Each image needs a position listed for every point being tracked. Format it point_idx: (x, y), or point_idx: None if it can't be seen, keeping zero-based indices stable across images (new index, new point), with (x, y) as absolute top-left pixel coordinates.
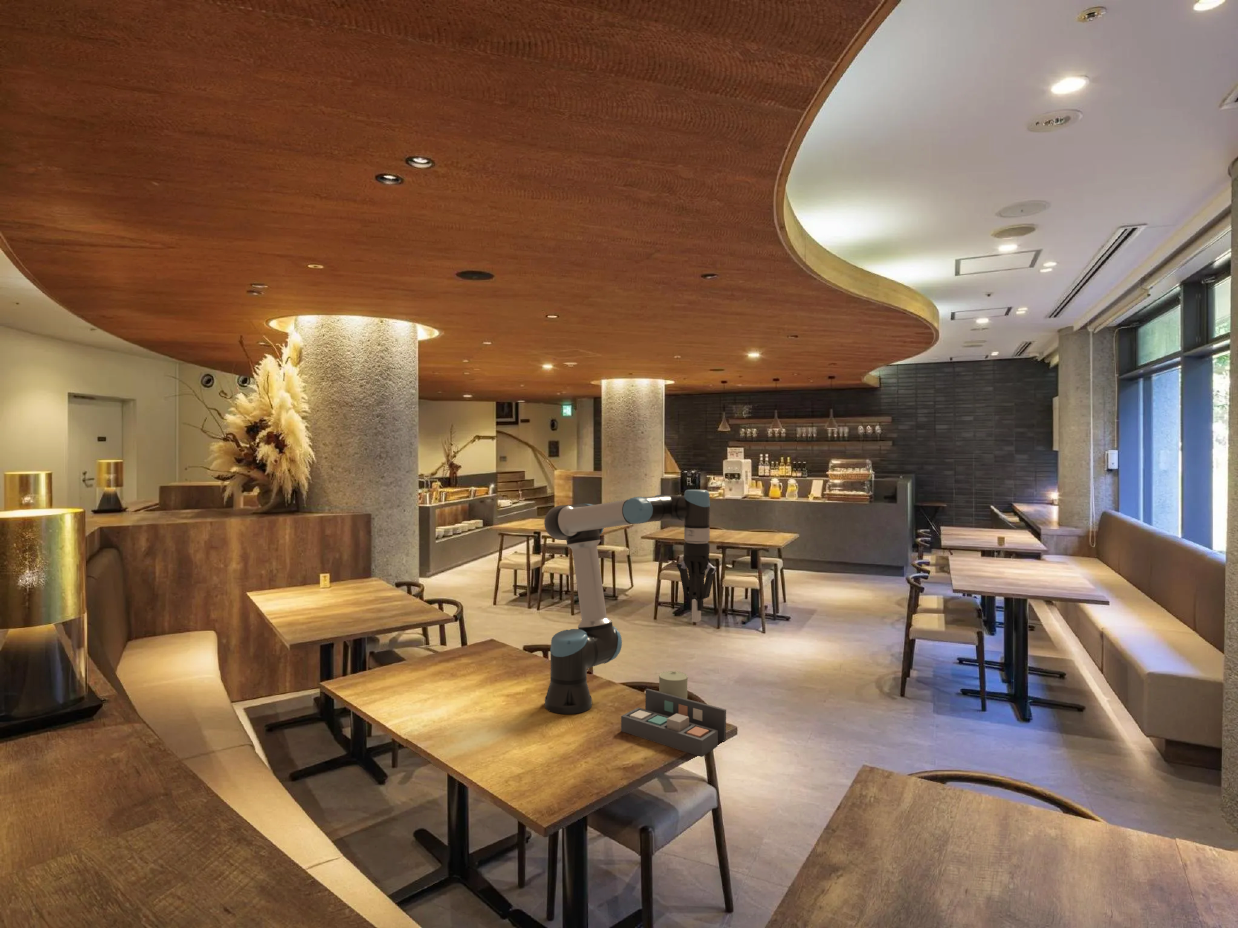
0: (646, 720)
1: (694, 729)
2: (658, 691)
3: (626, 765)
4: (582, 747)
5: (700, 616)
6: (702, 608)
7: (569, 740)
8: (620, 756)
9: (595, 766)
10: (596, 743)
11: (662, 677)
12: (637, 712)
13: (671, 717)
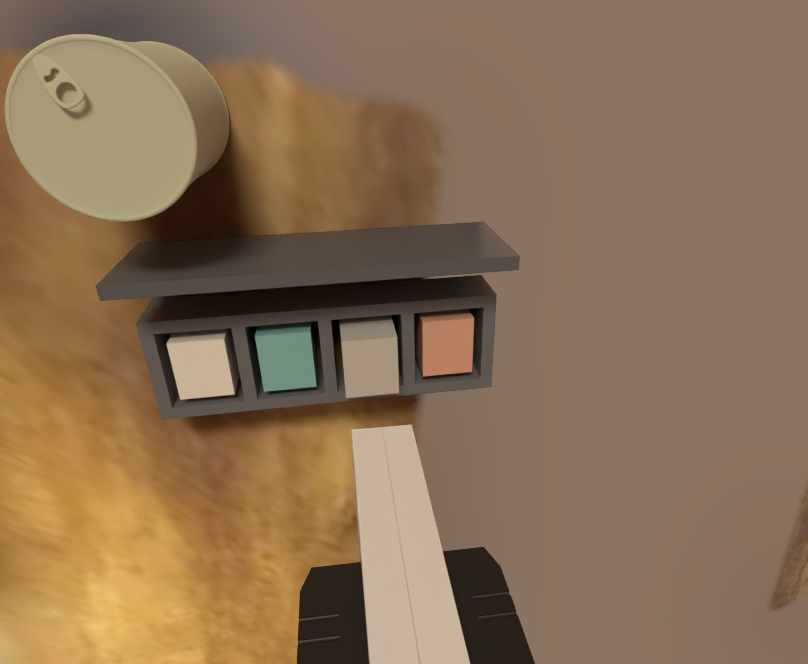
0: (255, 388)
1: (432, 345)
2: (165, 281)
3: (352, 510)
4: (192, 522)
5: (418, 465)
6: (499, 585)
7: (128, 520)
8: (306, 492)
9: (300, 555)
10: (197, 486)
11: (87, 205)
12: (180, 365)
13: (351, 381)
